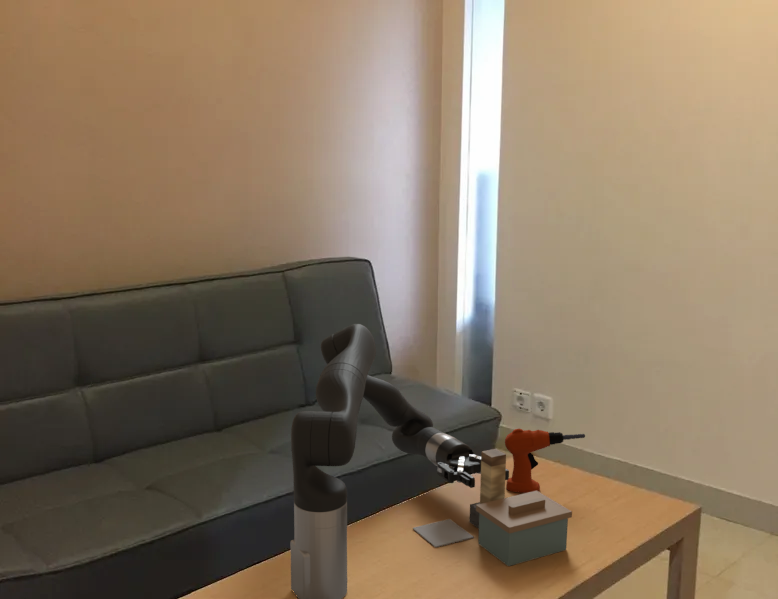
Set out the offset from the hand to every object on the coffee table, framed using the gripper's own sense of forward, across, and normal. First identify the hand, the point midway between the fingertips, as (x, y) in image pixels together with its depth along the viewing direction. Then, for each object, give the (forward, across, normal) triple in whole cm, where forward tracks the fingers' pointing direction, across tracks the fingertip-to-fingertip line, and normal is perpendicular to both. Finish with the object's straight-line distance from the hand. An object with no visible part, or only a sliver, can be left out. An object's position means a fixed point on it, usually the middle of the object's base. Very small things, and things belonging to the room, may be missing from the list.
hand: (490, 479), depth 172 cm
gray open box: (+1, 0, +10) cm, 10 cm away
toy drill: (-9, +21, +10) cm, 25 cm away
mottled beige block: (+1, 0, +10) cm, 10 cm away
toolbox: (+11, 0, +10) cm, 15 cm away
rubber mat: (-1, -11, +10) cm, 15 cm away
